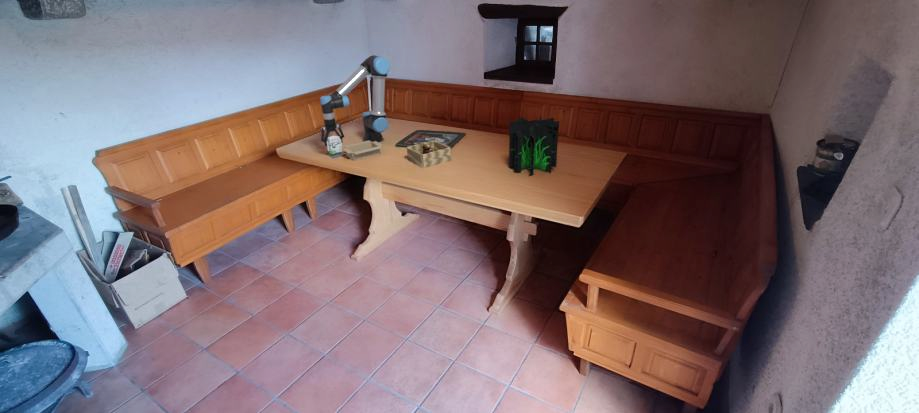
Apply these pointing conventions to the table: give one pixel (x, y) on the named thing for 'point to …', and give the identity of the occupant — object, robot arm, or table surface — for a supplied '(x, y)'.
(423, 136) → the religious icon
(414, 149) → the box
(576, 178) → the table surface
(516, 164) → the decorative plant
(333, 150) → the ink box
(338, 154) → the mat
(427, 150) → the bear figurine
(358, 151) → the carton
